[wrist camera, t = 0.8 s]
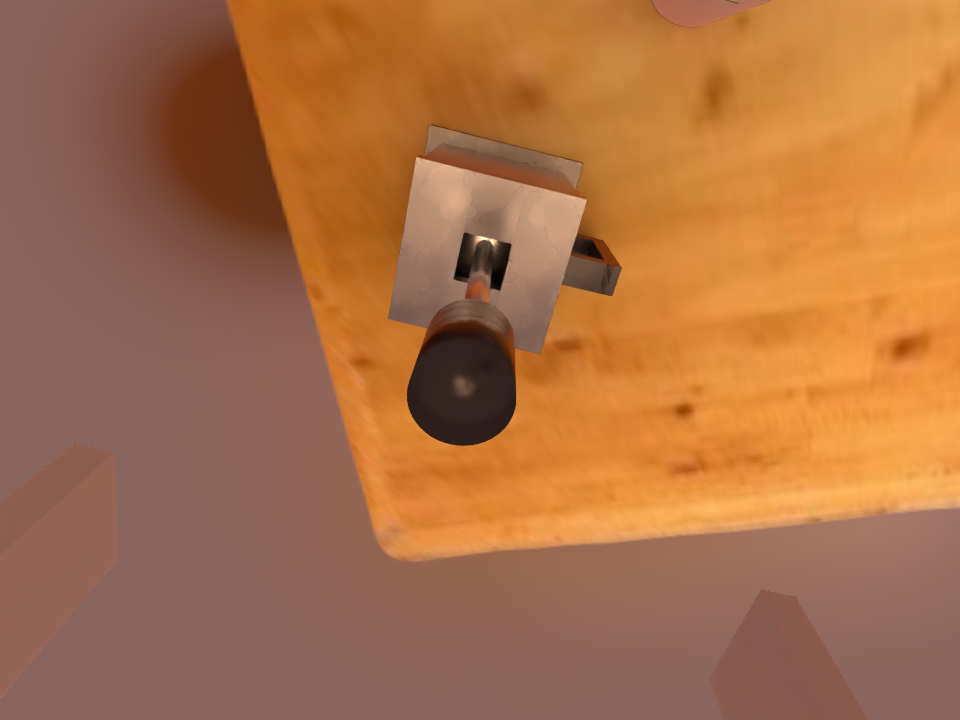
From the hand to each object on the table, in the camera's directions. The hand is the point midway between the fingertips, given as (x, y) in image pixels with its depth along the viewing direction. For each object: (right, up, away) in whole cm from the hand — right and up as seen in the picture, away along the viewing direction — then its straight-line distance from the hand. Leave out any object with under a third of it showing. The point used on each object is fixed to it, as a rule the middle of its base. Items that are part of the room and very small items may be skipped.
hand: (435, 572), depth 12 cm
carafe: (+3, +15, +35) cm, 39 cm away
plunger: (+1, +12, +27) cm, 30 cm away
